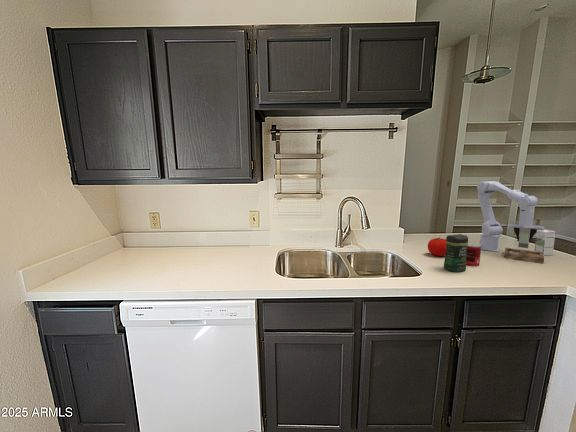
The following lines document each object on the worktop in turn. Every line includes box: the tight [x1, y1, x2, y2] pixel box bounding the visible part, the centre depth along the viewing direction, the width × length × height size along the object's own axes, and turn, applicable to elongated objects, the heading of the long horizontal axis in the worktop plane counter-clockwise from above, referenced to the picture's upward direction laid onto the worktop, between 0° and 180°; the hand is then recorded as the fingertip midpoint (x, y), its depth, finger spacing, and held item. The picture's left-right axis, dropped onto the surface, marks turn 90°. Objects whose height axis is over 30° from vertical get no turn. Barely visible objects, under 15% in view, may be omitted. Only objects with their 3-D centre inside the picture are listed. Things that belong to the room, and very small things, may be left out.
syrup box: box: [534, 228, 556, 256], centre depth 145 cm, size 6×6×14 cm
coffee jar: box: [443, 233, 469, 273], centre depth 126 cm, size 10×8×19 cm
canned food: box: [466, 242, 482, 267], centre depth 134 cm, size 8×8×11 cm
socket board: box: [503, 247, 545, 264], centre depth 141 cm, size 16×14×3 cm
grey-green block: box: [517, 231, 530, 249], centre depth 138 cm, size 4×4×8 cm
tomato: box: [427, 236, 446, 257], centre depth 150 cm, size 12×12×11 cm
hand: (523, 241), depth 139 cm, fingers closed on grey-green block, 4 cm apart
